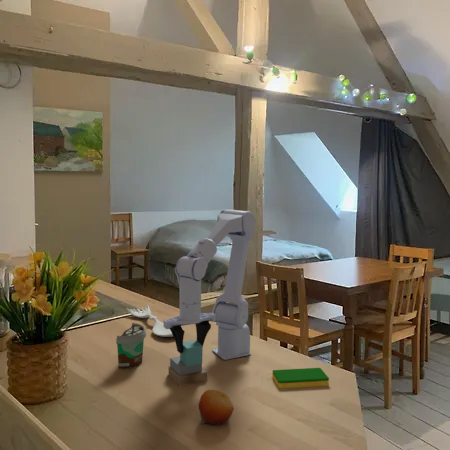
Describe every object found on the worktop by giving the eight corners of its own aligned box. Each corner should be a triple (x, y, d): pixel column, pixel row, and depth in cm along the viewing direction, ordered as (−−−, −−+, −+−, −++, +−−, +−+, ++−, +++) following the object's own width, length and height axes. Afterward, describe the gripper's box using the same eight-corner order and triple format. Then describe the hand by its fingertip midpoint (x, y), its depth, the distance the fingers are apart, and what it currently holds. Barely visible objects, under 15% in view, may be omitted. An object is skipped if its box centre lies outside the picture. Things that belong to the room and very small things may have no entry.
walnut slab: (194, 371, 146) (194, 360, 146) (207, 382, 139) (207, 371, 139) (168, 376, 142) (168, 366, 142) (179, 388, 135) (179, 377, 135)
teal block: (195, 357, 142) (195, 339, 141) (202, 363, 138) (202, 345, 137) (180, 360, 140) (180, 342, 139) (187, 366, 136) (187, 348, 135)
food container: (137, 372, 143) (137, 338, 141) (116, 370, 144) (116, 336, 142) (152, 355, 155) (152, 323, 153) (132, 354, 156) (132, 322, 154)
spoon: (147, 312, 197) (147, 303, 197) (186, 338, 170) (186, 328, 170) (125, 315, 192) (125, 306, 192) (161, 343, 165) (161, 333, 165)
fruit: (189, 406, 122) (207, 378, 121) (218, 422, 123) (236, 394, 122) (190, 424, 114) (209, 394, 113) (220, 440, 115) (239, 411, 114)
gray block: (191, 362, 145) (191, 353, 144) (201, 370, 139) (202, 362, 139) (170, 366, 141) (170, 358, 141) (179, 375, 136) (179, 366, 136)
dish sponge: (329, 387, 137) (329, 378, 137) (278, 390, 135) (278, 381, 135) (320, 375, 144) (320, 367, 144) (271, 378, 142) (272, 369, 142)
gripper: (207, 294, 144) (207, 340, 146) (159, 300, 137) (159, 349, 139) (219, 301, 138) (218, 349, 140) (169, 308, 131) (169, 358, 133)
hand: (189, 350), depth 139 cm, fingers open, 5 cm apart
